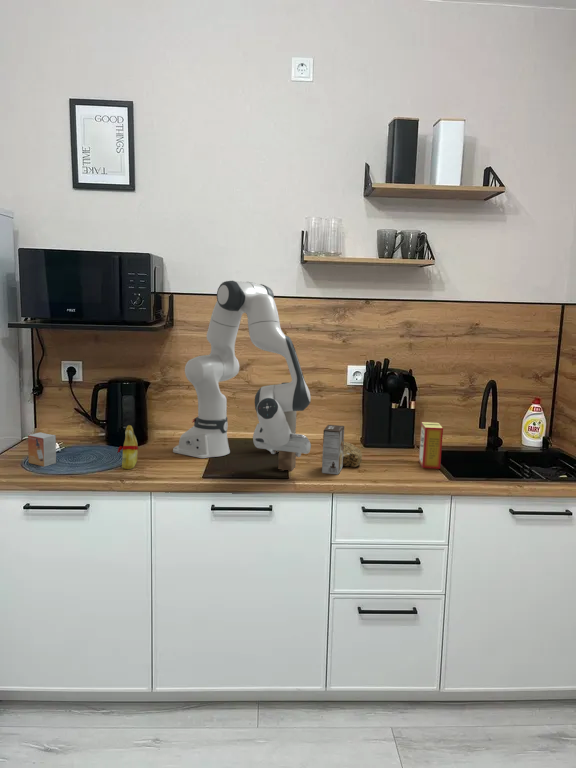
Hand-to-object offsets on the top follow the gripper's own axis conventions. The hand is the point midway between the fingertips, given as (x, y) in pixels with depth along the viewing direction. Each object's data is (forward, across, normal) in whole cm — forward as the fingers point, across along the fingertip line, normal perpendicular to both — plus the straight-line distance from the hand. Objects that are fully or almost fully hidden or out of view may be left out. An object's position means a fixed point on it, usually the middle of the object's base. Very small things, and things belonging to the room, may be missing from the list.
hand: (286, 453), depth 209 cm
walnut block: (+5, 0, +3) cm, 6 cm away
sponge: (+19, -17, -10) cm, 27 cm away
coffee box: (+9, -16, 0) cm, 18 cm away
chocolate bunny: (-9, +54, +18) cm, 57 cm away
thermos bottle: (+21, +8, -12) cm, 26 cm away
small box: (-16, +83, +25) cm, 88 cm away
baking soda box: (+25, -48, -16) cm, 57 cm away
